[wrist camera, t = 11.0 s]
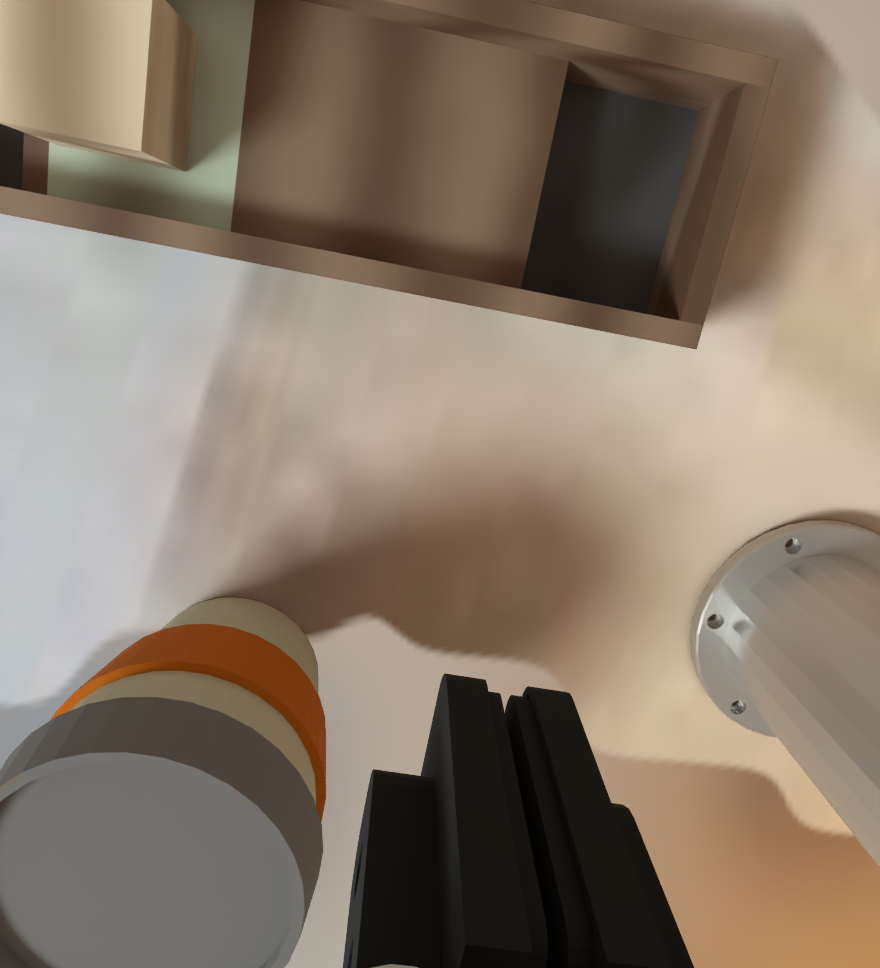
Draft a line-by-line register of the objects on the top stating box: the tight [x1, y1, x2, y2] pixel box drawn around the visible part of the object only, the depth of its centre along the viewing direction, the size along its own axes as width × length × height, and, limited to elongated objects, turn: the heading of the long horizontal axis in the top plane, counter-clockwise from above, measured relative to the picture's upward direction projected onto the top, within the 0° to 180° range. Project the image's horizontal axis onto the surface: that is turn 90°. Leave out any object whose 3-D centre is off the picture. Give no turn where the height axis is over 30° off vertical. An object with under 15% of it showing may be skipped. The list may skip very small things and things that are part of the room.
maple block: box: [0, 0, 198, 172], centre depth 26 cm, size 5×5×5 cm
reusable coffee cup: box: [0, 597, 326, 968], centre depth 32 cm, size 13×12×15 cm
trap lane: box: [0, 0, 778, 349], centre depth 30 cm, size 36×11×5 cm, turn 79°
